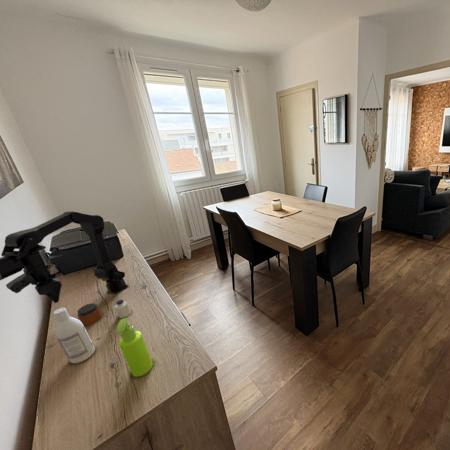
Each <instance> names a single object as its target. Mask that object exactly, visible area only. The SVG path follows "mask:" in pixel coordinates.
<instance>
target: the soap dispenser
mask: <svg viewBox="0 0 450 450" xmlns="http://www.w3.org/2000/svg"><path fill="white" fill-rule="evenodd" d="M128 320H129V318H128V317H124V318H120V319H119V321H118V324H117V326H116V331H115V333H116V334H118V333H119V335H120V337H121V338H120V340H119V341H118V346H119V348H120V351H121V353H122V355H123V357H124V359H125V361H126V363H127V366H128V368H129V370H130V373H131V375H132V376H133V377H134V378H135V377H136V378H138V377H142V376H145V375H146V374H147V373H148V372H150V370H152V368H153V365H154V362H153V359H152V358H151V355H150V352H149V350H148V347H147V345H146V342H145V339H144V337H143V335H142V333H141V331H138V330H135V328H134V326H133V325H129V323H128Z"/></svg>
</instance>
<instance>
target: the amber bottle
mask: <svg viewBox="0 0 450 450" xmlns="http://www.w3.org/2000/svg"><path fill="white" fill-rule="evenodd" d="M76 312H77V318H78V320H80V321H81V322H82V324H83V325H84V326H89V325H93V324H95V323H96V322H98V321H100V320H101V319H102V317H103V314H102V312H101V310H100V308H99V306H98V305H97V304H96V303H95V302H94V303H93V302H92V303H88V304H85V305H83V306H80V308H78V310H77V311H76Z"/></svg>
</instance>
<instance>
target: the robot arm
mask: <svg viewBox="0 0 450 450" xmlns="http://www.w3.org/2000/svg"><path fill="white" fill-rule="evenodd" d="M72 223H73V224H77V225H79V226H80V228H81V229H82V231H83V232H84V233H85V234H86V235H87V236H88V238H89V241H90V244H91V248H92V251H93V254H94V257H95V260H96V261H95V262H96V266H95V267H93V268H92V271H93V273H94V277H96V278H97V279H98V280H101V281H102V282H105V287H106V289H107V292H109V293H111V294H114V295H115V294H118V293H119V292H122V291H123V290H125V289H126V288H129V285H128V284H126V282H125V279H124V278H125V277H126V272H124V271H121V270H119V269H118V268H117V265H116V264H115V263H114V262H113V261H111V258H110V254H109V251H108V248H107V244H106V241H105V237H104V233H103V232H104V230H105V221H104V217H103V216H100V214H99V215H98V214H95V215H94V214H87V213H82V212H78V211H70V210H69V211H64V212H63V213H62V214H60V215H59V214H58V215H57V216H55V217H53V218H51V219H49V220H47V221H45V222H43V223H41V224H39V225H37V226H34V227H31V228H27V229H22V230H19V231H15V232H12V233H9V234H7V235H6V236H5V237H4V246H3V249H2V251H1V257H0V281H3V280H5V279H7V278H9V277H11V276H13V275H16V274H18V273H20V272H22V271H23V273H22V274H20V275H18V276H16V277H15V278H14V279H12V280H11V281H9V282H8V283H6V284H5V287H6V289H8V290H10V291H11V292H12V293H14V294H18V293H19V294H20V292H22V290H24V289H25V288H27V287H28V286H30V285H31V286H35V287H34V289H35V291H36V292H37V294H38V295H39V296H47V297H48V298H49V299H50V300H51V301H52V302H53V303H54V304H57V303H59V302H60V296H61V295H60V294H61V289H62V287H63V284H62V282H61V281H60V279H58V278H55V277H54V276H55V275H54V274H53V273H52V271H51V270H50V266H49V265H48V264H47V263H46V260H45V259H44V257H43V255H42V253H41V251H42V250H45V249H47V246H45V245H40V244H41V242H43V240H44V239H45V238H47V236H49V235H51V234H53V233H55V232H56V231H59V230H60V229H63V228H64V227H66V226H69V225H71V224H72Z"/></svg>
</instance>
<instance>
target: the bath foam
mask: <svg viewBox="0 0 450 450" xmlns="http://www.w3.org/2000/svg"><path fill="white" fill-rule="evenodd" d="M52 313H53V315H54V317H55V320H56V321H57V323H56V325H55V328H54V335H55V338H56V340H57V342H58V343H59V346H60V347H61V348H62V351H63V353H65V354H64V355H66V357H67V359H68V361H69V362H70V363H71V364H79V363H82V362H84V361H87V359H89V358H90V357H92V355H93V354H94V353H95V352H96V351H95V350H96V347H95V345H94V342H93V341H92V339H91V337H90V335H89V333H88V331H87V329H86V327H85V325H83V324H82V322H81V321H80V319H79V318H75V317H72V316H70V315H69V312H68V311H67V309H66V308H65V307H59V308H58V309H55V310H54V311H53V312H52Z"/></svg>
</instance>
